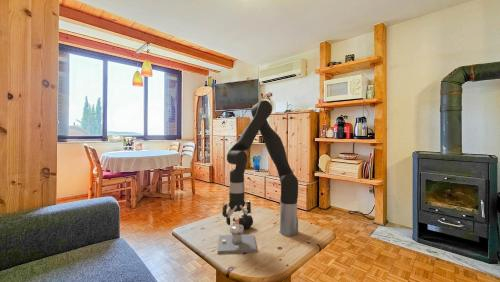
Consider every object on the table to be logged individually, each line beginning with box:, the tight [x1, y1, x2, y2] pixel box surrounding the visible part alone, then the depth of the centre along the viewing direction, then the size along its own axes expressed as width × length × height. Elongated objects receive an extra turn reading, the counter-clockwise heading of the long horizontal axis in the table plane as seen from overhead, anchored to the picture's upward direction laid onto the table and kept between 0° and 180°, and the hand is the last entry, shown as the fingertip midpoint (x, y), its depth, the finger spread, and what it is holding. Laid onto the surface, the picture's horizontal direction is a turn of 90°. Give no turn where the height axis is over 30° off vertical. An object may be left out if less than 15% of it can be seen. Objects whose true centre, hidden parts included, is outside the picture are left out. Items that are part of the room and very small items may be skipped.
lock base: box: [217, 233, 258, 255], centre depth 111 cm, size 18×16×6 cm
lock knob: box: [229, 213, 245, 235], centre depth 111 cm, size 10×7×7 cm
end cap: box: [232, 214, 254, 229], centre depth 131 cm, size 10×7×7 cm
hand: (236, 223), depth 111 cm, fingers open, 8 cm apart
